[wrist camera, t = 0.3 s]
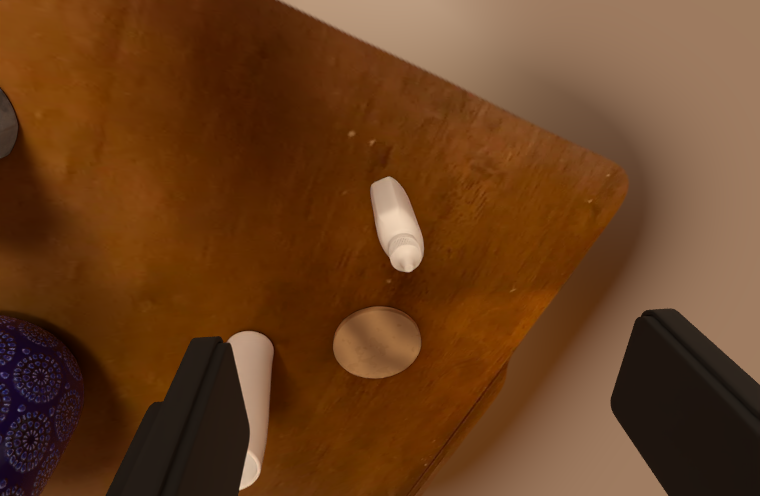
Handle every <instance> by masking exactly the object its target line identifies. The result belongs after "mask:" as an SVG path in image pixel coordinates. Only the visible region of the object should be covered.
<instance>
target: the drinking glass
mask: <svg viewBox="0 0 760 496" xmlns="http://www.w3.org/2000/svg"><path fill="white" fill-rule="evenodd" d="M227 342H229V343H230V344H231V346H232V350H233V354H234V358H235V363H236V367H237V372H238V376H239V381H240V385H241V390H242V394H243V399H244V403H245V407H246V412H247V416H248V421H249V426H250V440H249V446H248V450H247V455H246V460H245V464H244V469H243V474H242V478H241V483H240V488H239V490H242V489H244V488H246V487H248V486H250V485H251V484H253V483H254V482H255V481H256V480H257V478H258V476H259V475H260V472H261V467H262V462H263V458H264V453H265V447H266V441H267V434H268V423H269V407H270V389H271V374H272V362H273V356H274V348H273V345H272V343H271V341H270V340H269V339H268V338H267V337H266V336H265V335H263V334H261V333H258V332H255V331H242V332H239V333H236V334H234V335H233V336H232V337H230V338H229V340H228V341H227ZM227 342H226V343H227Z"/></svg>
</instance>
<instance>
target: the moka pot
mask: <svg viewBox="0 0 760 496" xmlns="http://www.w3.org/2000/svg"><path fill="white" fill-rule="evenodd" d="M17 131H18V123H17V119H16V116H15V113H14V110H13V108H12V106H11V104H10V102H9V100H8V99H7V97H6V95H5V94H4V93H3V91H2V90H1V89H0V158H3V157H5V156H7V155H8V154H9V153H10V152H11V150H12V148H13V146H14V144H15V141H16V138H17Z"/></svg>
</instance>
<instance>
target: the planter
mask: <svg viewBox="0 0 760 496" xmlns="http://www.w3.org/2000/svg"><path fill="white" fill-rule="evenodd" d="M83 403H84V383H83V376H82V373H81V370H80V367H79V364H78V362H77V360H76V358H75V357H74V355H73V354H72V352H71V351H70V350H69V349H68V348H67V346H66V345H65V344H64V343H63V342H61V341H60V340H59V339H58V338H57V337H56V336H54V335H53V334H51V333H50V332H48V331H47V330H45V329H43V328H41V327H39V326H37V325H35V324H32V323H30V322H27V321H24V320H21V319H17V318H13V317H9V316H3V315H0V496H40V494H41V493H42V491H43V489H44V487H45V486H46V484H47V482H48V481H49V479H50V477H51V475H52V474H53V472H54V470H55V468H56V467H57V465H58V463H59V461H60V459H61V457H62V455H63V453H64V451H65V449H66V447H67V445H68V443H69V441H70V439H71V437H72V435H73V433H74V431H75V429H76V427H77V424H78V422H79V419H80V416H81V413H82V409H83Z"/></svg>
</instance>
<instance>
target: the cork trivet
mask: <svg viewBox="0 0 760 496" xmlns="http://www.w3.org/2000/svg"><path fill="white" fill-rule="evenodd" d="M420 348H421V336H420V332H419V329H418V326H417V324H416V323H415V322H414V320H413V319H412V318H411V317H410V316H408V315H407V314H406V313H404V312H402V311H400V310H397V309H394V308H391V307H382V306H377V307H369V308H365V309H361V310H359V311H356V312H354V313H353V314H351V315H349V316H348V317H347V318H345V319H344V320H343V321H342V322H341V324H340V325H339V326H338V328H337V330H336V332H335V334H334V338H333V351H334V355H335V357H336V359H337V361H338V362H339V364H340V365H341V366H342V367H343V368H344V369H345V370H347V371H348V372H350V373H352V374H354V375H357V376H360V377H364V378H384V377H389V376H392V375H395V374H397V373H399V372H401V371H403V370H404V369H406V368H407V367H408V366H410V365H411V364H412V363H413V362H414V360H415V359H416V357H417V356H418V354H419V351H420Z"/></svg>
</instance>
